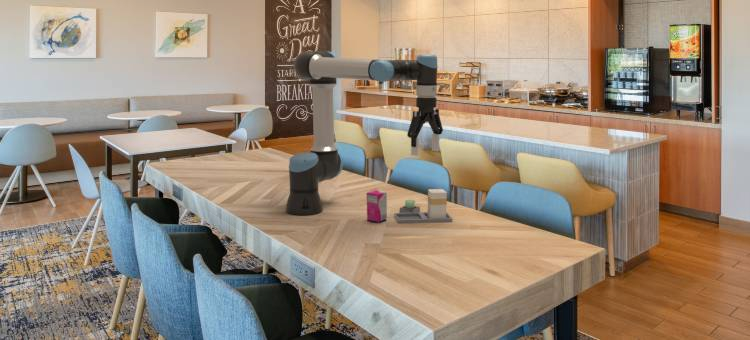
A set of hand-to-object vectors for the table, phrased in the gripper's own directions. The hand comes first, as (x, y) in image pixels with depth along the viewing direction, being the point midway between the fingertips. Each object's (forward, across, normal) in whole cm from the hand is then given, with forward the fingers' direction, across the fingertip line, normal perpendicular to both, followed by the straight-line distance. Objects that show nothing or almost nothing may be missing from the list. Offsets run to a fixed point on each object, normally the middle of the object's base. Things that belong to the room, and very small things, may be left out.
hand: (425, 153), depth 219 cm
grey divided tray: (+27, 0, +1) cm, 27 cm away
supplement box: (+27, -10, +15) cm, 33 cm away
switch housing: (+27, +5, +10) cm, 29 cm away
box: (+26, +4, -3) cm, 27 cm away
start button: (+26, +5, +10) cm, 28 cm away
